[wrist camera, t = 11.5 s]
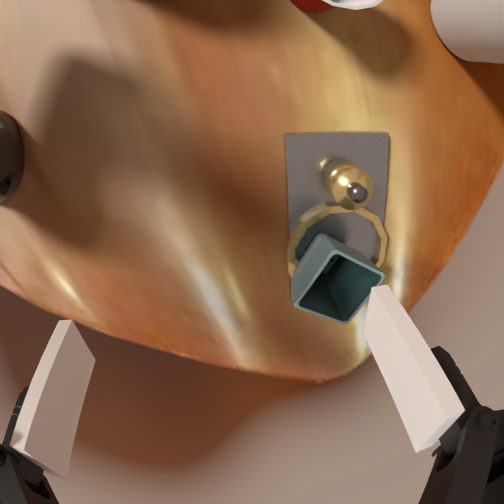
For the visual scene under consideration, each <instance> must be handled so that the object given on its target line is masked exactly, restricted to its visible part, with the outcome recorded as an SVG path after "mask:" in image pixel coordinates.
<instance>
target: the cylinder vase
mask: <svg viewBox="0 0 504 504" xmlns="http://www.w3.org/2000/svg"><path fill="white" fill-rule="evenodd" d="M430 10H431V18H432V22H433V25H434V27H435V30H436V32H437V34H438V36H439V37H440V39H441V40H442V42H443V43H444V44H445V46H446V47H447V48H448V49H449V50H450V51H451V52H452V53H453V54H455V55H456V56H457V57H459V58H461V59H463V60H466V61H471V62H488V63H500V64H504V0H432V1H431V7H430Z"/></svg>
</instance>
